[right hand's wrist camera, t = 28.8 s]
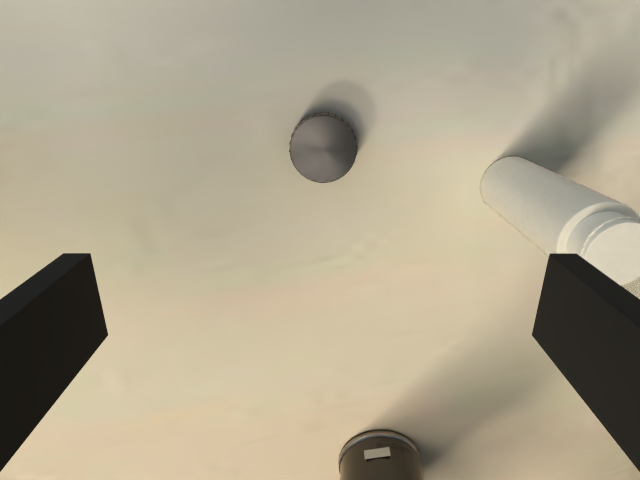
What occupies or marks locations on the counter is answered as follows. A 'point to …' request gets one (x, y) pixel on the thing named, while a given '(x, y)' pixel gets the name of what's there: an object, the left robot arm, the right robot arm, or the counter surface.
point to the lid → (323, 147)
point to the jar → (565, 216)
